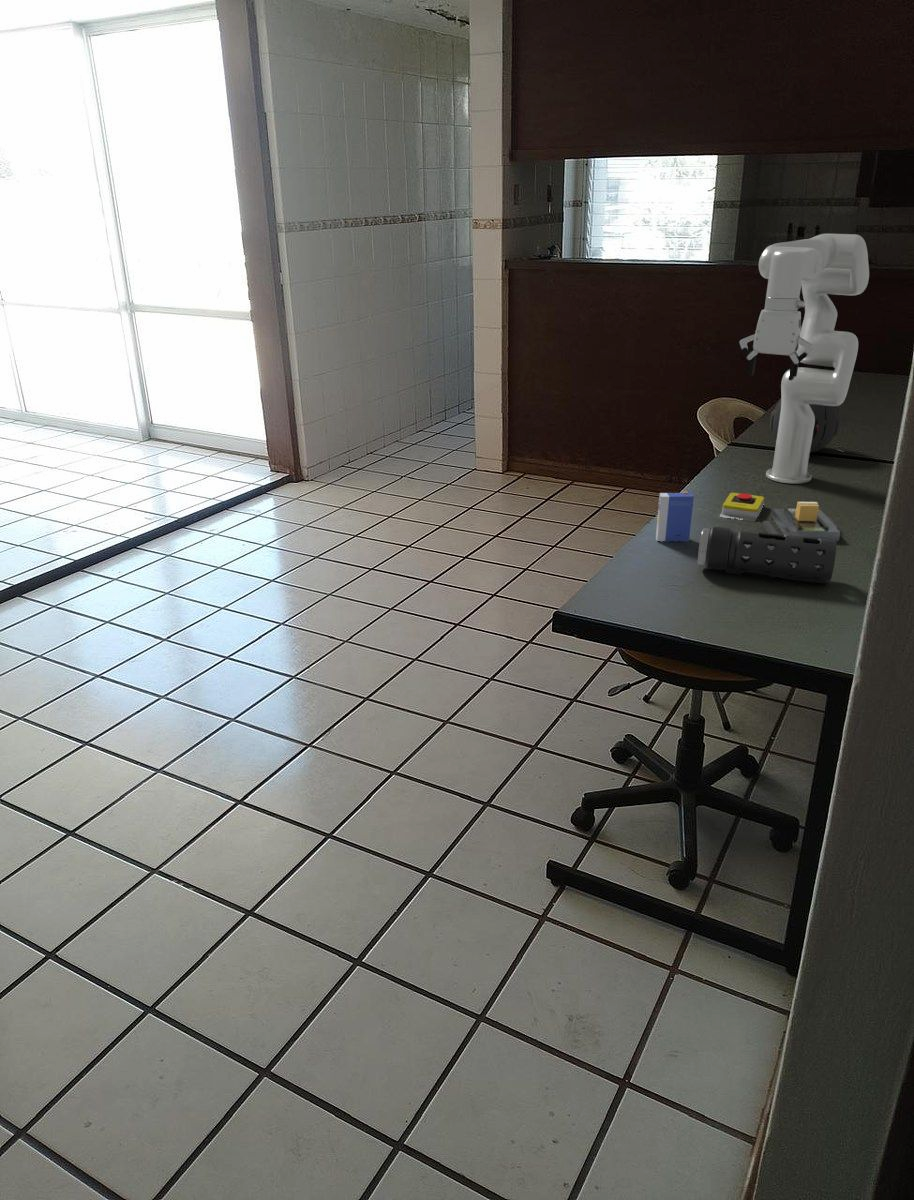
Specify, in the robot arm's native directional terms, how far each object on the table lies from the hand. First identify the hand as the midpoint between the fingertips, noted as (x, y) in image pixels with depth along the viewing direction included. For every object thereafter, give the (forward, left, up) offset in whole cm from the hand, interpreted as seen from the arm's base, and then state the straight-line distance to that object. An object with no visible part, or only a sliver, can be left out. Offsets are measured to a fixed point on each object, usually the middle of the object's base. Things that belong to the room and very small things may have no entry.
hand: (770, 377), depth 222 cm
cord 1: (+17, +1, -35) cm, 39 cm away
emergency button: (-1, -2, -36) cm, 36 cm away
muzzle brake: (+41, -8, -36) cm, 55 cm away
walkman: (+20, -24, -36) cm, 47 cm away
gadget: (-57, +28, -36) cm, 73 cm away
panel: (+12, +10, -35) cm, 39 cm away
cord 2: (+10, +17, -35) cm, 40 cm away
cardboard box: (+12, +10, -32) cm, 36 cm away
